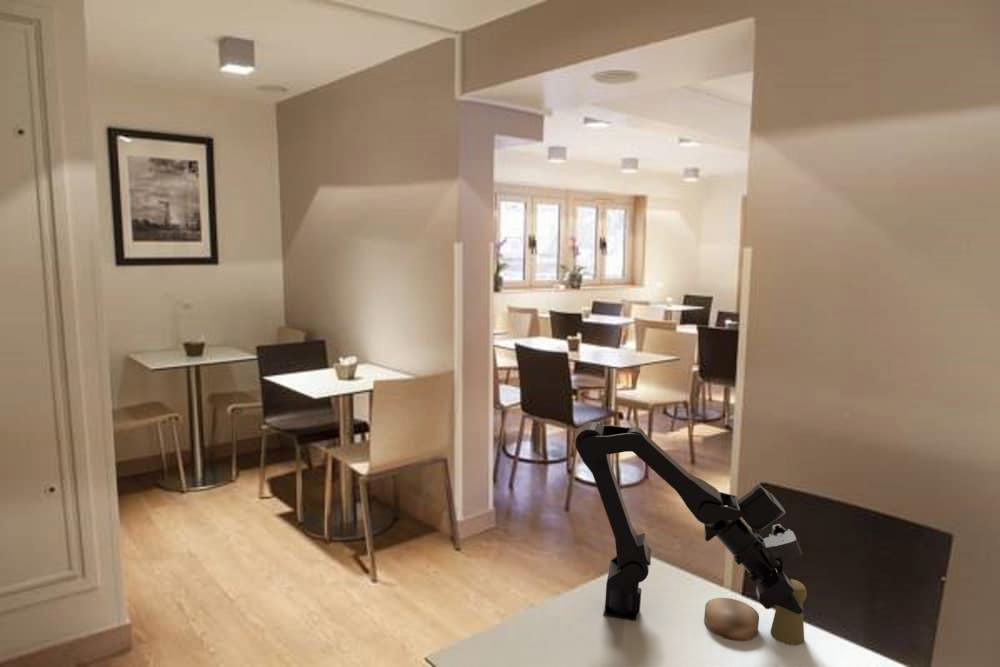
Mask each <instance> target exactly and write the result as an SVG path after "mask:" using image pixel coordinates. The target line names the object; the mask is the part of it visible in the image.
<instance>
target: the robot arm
mask: <svg viewBox="0 0 1000 667" xmlns="http://www.w3.org/2000/svg"><path fill="white" fill-rule="evenodd" d="M574 445H575V450H576V451H577V453H578V455H579V457H580V459H581V460H582V462H583V464H584V465H585V466H586V467H587V469H588V470H589V471H590V472H591V475H592V477H593V479H594V480H593V481H594V483H595V484H596V488H597V491H598V494H599V497H600V500H601V502H602V505H603V508H604V511H605V514H606V516H607V520H608V522H609V525H610V529H611V531H612V534H613V538H614V541H615V542H614V543H615V551H616V552H615V553H616V556H615V557H613V558H612V559H610V561H609V567H608V572H607V573H608V575H607V579H606V584H605V586H606V587H605V598H604V599H605V601H604V608H603V615H604V616H609V617H614V618H621V619H626V620H629V621H630V620H631V621H636V620H637V616H638V614H639V613H640V611H641V603H642V602H641V601H642V588H641V587H639V586H640V583H642V582H644V581H645V580H646V579H647V578H648V575H649V571H650V570H649V569H650V568H649V566H651V565H652V564H651V562H652V561H651V560H652V558H651V557H652V548H650V546H649V545H648V543H647V538H646V533H645V532H643V533H640V534H638V532H637V531H636V530H635V529H634V527H633V524H632V521H631V519H630V516H629V513H628V508H627V506H626V503H625V501H624V498H623V495H622V492H621V489H620V486H619V484H618V481H617V478H616V475H615V472H614V470H613V466H612V461H611V455H614V454H620V453H626V452H628V453H629V452H631V453H633V454H635V455H636V456H637V457H638V459H640V460H641V461H642V462H643V463H645V464H646V465H647V466H648V467H649V468H650V469H651V470H653V471H654V473H655V474H657V476H659V477H660V478H661V479H662V480H664V481H665V483H666V484H668V486H670V487H671V488H672V489H673V490H675V492H676V493H677V494H678V495H679V497H680V499H682V501H683V503H684V505H685V506H686V508H687V509H688V510H689V512H690V513H691V514H692V516H694V517H695V519H696V520H697V521H699V523H701V524H704V525H703V526H704V531H703V534H704V540H705V541H706V542H710V541H711V540H712V539H713V538H714V537H716V538H717V539H718V540H719V542H720V543H722V545H724V547H725V548H726V549H727V550H728V551H729V553H731V555H732V556H733V557H734V561H735V562H736V564H737V565H738V566H739V565H741V566H742V567H743V568H744V569H745V570H746V571H747V572H748V575H749V578H750V579H751V580H752V582H755V581H757V580H760V582H759V583H758V584H757V585H756V588H755V589H756V590H755V592H756V596H757V600H758V602H759V603H760V605H762V607H763V608H764V609H765V610H769V609H772V607H774V606H777V605H778V606H780V607H783V608H785V609H787V610H790V611H792V612H794V613H796V614H801V613H803V614H804V608H803V609H802V608H801V606H800V605H799V603H798V601H797V600H796V598H795V597H794V595H793V594H792V593H793V591H794V588H793V586H792V582H791V580H790V579H791V577H790V576H787V575H786V574H785V572H784V570H783V568H784V560H788V559H792V558H799V557H801V556H802V555H803V551H802V549H801V546H800V545H799V542H798V541H799V540H798V539H797V537H796V534H795V533H794V531H793V530H791V529H790V528H785V527H784V526H783V525H782V524H780V523H778V524H773V525H772V526H771V524H772V523H774V522H776V521H777V520H778V519H780V518H782V516H784V515H785V514H786V510H785V509H784V506H782V504H781V503H780V502H779V501H778V499H777V498H776V497H775V496H774V495H773V493H771V492H769V491H768V490H767V489H766V488H764V487H763V486H762V485H761V484H759V483H758V484H756V485H755V486H754V487H752V489H751V490H750V491H749V492H748V493H746V494H744V495H743V496H742V497H741V498H739V497H738V496H737V495H734V494H730V493H726V492H721V491H719V490H718V489H717V488H716V487H715V486H713V485H711V484H710V483H708V482H707V481H705V480H704V479H702V478H700V477H697V476H695V475H693V474H692V473H690V472H688V471H687V470H686V469H685V468H684V467H682V465H681V464H679V463H678V462H677V461H676V460H675V459H674V458H673V457H671V455H669V454H668V453H667V452H666V451H665V450H664V449H662V447H661V446H659V445H658V443H656V442H655V441H654V440H652V438H650V436H648V435H647V434H646V433H645V431H644V430H643V429H642V428H640V427H638V426H621V425H613V424H601V423H600V422H596V421H588V422H585V423H584V424H583V425H582V426H581V427H580V428H579V431H578V433H577V436H576V438H575V442H574ZM738 498H739V499H738ZM741 518H742V519H741ZM768 526H771V533H769V534H768V536H767V537H765V538H763V537H762V536H761V535H760V533H757V532H758V531H759V530H760V531H763V530H764V529H765V528H767V527H768ZM750 528H751V529H752V530H754V529H755V531H757V532H755V533H754V532H753V531H752V530H751V529H750Z"/></svg>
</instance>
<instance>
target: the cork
mask: <svg viewBox="0 0 1000 667" xmlns="http://www.w3.org/2000/svg"><path fill="white" fill-rule="evenodd" d="M790 580H791V582H792V586H793V588H794V591H793V593H792V594H793V595H794V597H795V598H796V600H797V601H798V603H799V605H800V606H801V608H802V609H803V610H804V608H803V607H804V606H803V605H804V604H803V603H804V602H805V601H806V600H807V597H808V596H807V595H808V593H807V588H806V585H804V584H803V583H802V582H800V581H799V580H797V579H793V578H792V579H791V578H790ZM804 624H805V623H804V612H803V613H801V614H796V613H794V612H792V611H790V610H787V609H785V608H783V607H780V606H778V605H776V608H775V611H774V615H773V619H772V624H771V627H770V635H771V638H774V640H776V641H777V642H779V643H782V644H785V645H788V646H800V645H803V644H804V642H805V628H804Z"/></svg>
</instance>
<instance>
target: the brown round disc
mask: <svg viewBox="0 0 1000 667" xmlns="http://www.w3.org/2000/svg"><path fill="white" fill-rule="evenodd" d="M704 606H705V607H704V618H703V622H704V625H705V627H706V628H707V629H708V630H709V632H712V633H713V634H715V635H716V636H718V637H719V638H720V637H721V638H724V639H726V640H729V641H735V642H747V641H750V640H753V639H755V638H756V637H757V635H758V633H759V624H760V614H759V612H758V611H757V610H756V609H755V608H754V607H753V606H751V605H749V604H748V603H746V602H744V601H741V600H739V599H734V598H731V597H715V598H711V599H710V600H708V601H707V602H706V603H705V605H704Z"/></svg>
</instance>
